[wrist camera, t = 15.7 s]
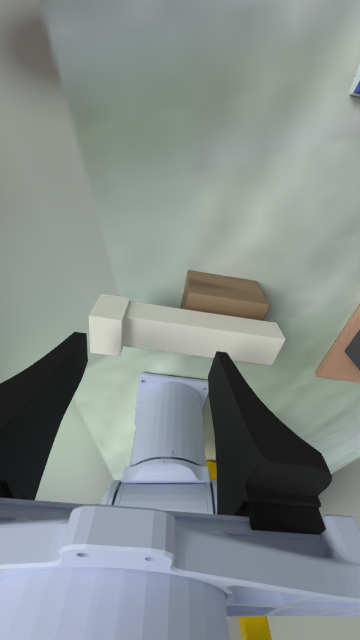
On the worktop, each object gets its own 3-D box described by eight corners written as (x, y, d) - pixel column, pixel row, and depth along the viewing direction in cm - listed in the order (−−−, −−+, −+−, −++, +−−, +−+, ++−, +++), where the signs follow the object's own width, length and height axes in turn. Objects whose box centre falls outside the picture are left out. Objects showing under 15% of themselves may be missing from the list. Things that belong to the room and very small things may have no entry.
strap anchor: (239, 327, 25) (248, 355, 21) (178, 318, 24) (177, 345, 21) (256, 281, 22) (269, 304, 18) (187, 270, 21) (189, 292, 18)
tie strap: (263, 350, 20) (274, 376, 18) (101, 328, 19) (90, 352, 17) (277, 320, 19) (291, 344, 16) (101, 293, 18) (88, 315, 15)
